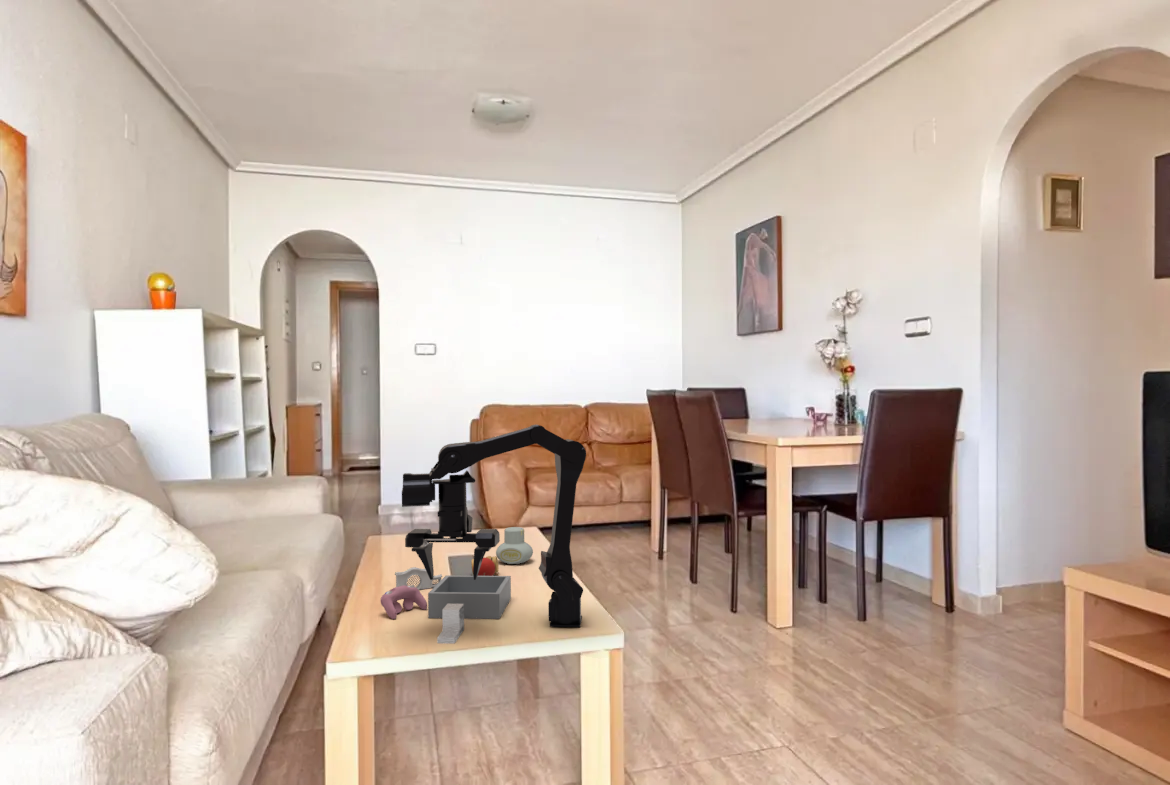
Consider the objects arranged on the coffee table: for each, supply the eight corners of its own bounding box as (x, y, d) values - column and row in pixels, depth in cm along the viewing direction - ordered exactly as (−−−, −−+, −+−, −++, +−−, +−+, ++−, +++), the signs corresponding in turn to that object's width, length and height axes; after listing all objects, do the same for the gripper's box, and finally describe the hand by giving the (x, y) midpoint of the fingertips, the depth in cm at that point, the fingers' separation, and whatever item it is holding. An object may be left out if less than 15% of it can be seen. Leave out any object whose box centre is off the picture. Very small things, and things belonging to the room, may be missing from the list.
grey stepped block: (464, 629, 142) (463, 603, 142) (454, 643, 134) (454, 616, 134) (447, 629, 143) (447, 603, 143) (437, 643, 135) (437, 616, 135)
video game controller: (419, 613, 158) (411, 584, 160) (430, 607, 156) (421, 578, 158) (383, 624, 151) (374, 593, 153) (393, 618, 148) (385, 587, 150)
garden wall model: (440, 585, 176) (440, 562, 176) (442, 587, 175) (442, 564, 175) (394, 592, 170) (394, 569, 170) (396, 594, 169) (396, 570, 169)
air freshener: (535, 559, 203) (535, 526, 204) (529, 566, 195) (529, 531, 195) (500, 558, 205) (500, 525, 205) (492, 565, 197) (492, 531, 197)
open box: (510, 598, 164) (510, 575, 164) (499, 618, 149) (499, 594, 149) (446, 597, 165) (445, 575, 165) (428, 618, 150) (428, 593, 150)
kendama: (472, 571, 196) (465, 579, 178) (477, 549, 197) (470, 554, 179) (499, 575, 196) (494, 583, 178) (503, 553, 197) (499, 559, 179)
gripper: (503, 498, 148) (504, 569, 148) (420, 498, 149) (421, 569, 149) (493, 506, 137) (494, 583, 137) (403, 507, 138) (404, 583, 138)
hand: (453, 579), depth 141 cm, fingers open, 9 cm apart
